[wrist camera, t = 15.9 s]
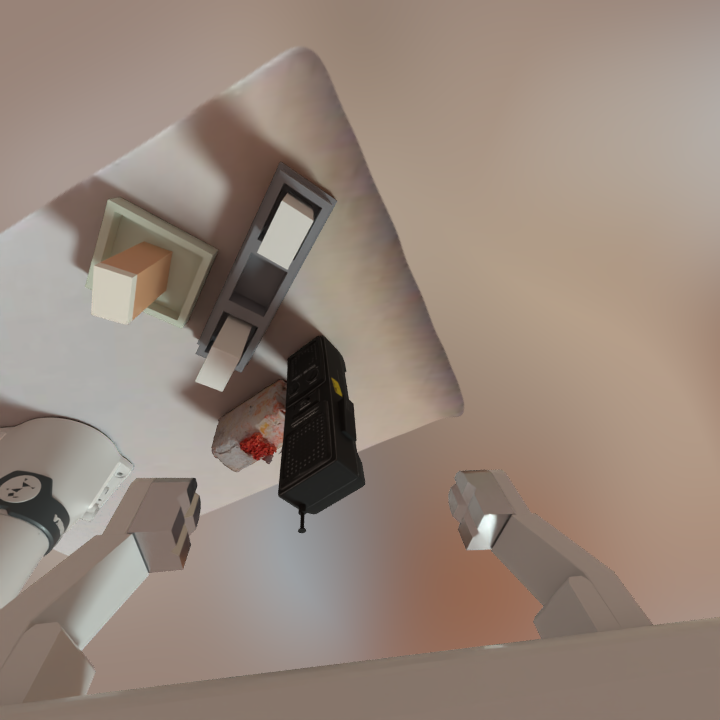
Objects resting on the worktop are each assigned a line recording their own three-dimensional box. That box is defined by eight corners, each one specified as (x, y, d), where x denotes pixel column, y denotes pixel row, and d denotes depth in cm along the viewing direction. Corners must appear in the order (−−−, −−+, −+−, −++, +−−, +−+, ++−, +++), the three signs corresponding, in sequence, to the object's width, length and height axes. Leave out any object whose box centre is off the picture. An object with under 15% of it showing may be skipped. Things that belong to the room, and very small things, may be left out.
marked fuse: (166, 290, 40) (127, 325, 31) (139, 281, 39) (91, 314, 31) (172, 251, 38) (132, 277, 29) (143, 241, 37) (93, 265, 28)
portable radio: (325, 327, 46) (338, 469, 25) (351, 355, 49) (381, 503, 28) (284, 358, 48) (262, 515, 27) (311, 383, 51) (311, 542, 29)
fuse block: (248, 361, 47) (232, 410, 38) (199, 340, 45) (169, 387, 35) (336, 200, 38) (344, 213, 28) (281, 161, 35) (270, 161, 26)
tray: (188, 320, 43) (181, 328, 41) (97, 280, 39) (84, 287, 37) (218, 250, 39) (213, 255, 37) (120, 196, 35) (107, 199, 33)
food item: (282, 369, 49) (276, 412, 40) (315, 401, 53) (315, 447, 44) (215, 413, 51) (196, 462, 43) (251, 441, 55) (240, 491, 47)
